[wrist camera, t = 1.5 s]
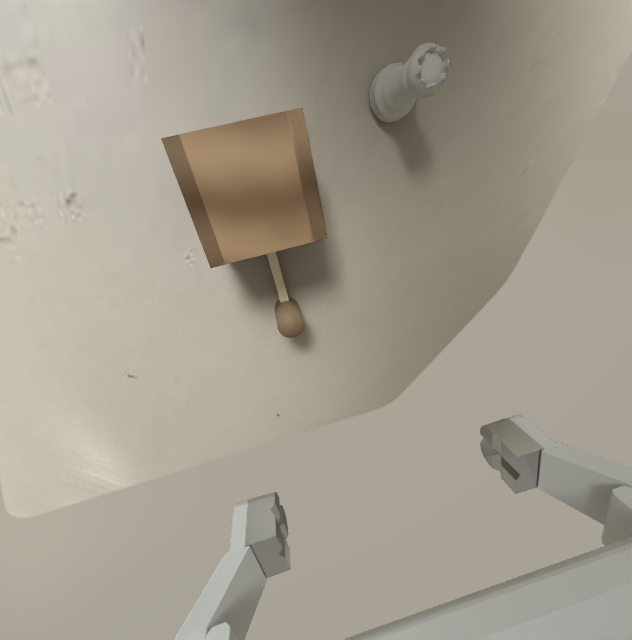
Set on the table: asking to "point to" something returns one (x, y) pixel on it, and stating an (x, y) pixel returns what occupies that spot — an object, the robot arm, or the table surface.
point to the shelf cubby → (249, 186)
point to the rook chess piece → (408, 82)
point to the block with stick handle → (285, 304)
